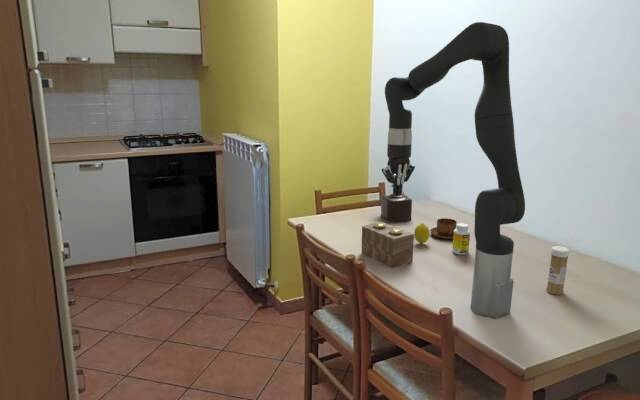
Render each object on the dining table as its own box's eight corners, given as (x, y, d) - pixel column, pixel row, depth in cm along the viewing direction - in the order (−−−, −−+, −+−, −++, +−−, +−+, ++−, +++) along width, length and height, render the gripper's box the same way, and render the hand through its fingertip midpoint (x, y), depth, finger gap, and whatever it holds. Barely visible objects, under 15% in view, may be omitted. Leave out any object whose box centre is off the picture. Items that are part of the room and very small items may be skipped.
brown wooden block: (412, 262, 165) (414, 233, 162) (392, 267, 160) (393, 238, 157) (380, 248, 177) (381, 221, 175) (361, 253, 172) (362, 226, 170)
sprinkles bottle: (542, 290, 143) (548, 246, 140) (554, 287, 145) (559, 244, 142) (555, 296, 139) (561, 252, 136) (567, 293, 141) (573, 249, 138)
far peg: (386, 251, 171) (387, 224, 168) (378, 254, 169) (379, 226, 166) (379, 248, 174) (380, 221, 172) (370, 250, 172) (371, 223, 169)
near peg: (403, 258, 164) (404, 230, 162) (394, 261, 162) (395, 233, 160) (394, 255, 168) (396, 227, 165) (386, 257, 165) (387, 229, 163)
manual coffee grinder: (413, 220, 210) (415, 179, 206) (389, 222, 207) (390, 181, 203) (398, 211, 225) (400, 172, 220) (375, 212, 222) (377, 174, 217)
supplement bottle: (461, 256, 170) (463, 228, 167) (448, 251, 174) (450, 224, 172) (471, 253, 173) (474, 225, 170) (459, 248, 177) (461, 221, 175)
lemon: (411, 245, 181) (412, 224, 179) (416, 240, 185) (417, 220, 183) (426, 247, 178) (427, 226, 176) (430, 242, 183) (432, 222, 181)
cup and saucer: (468, 239, 188) (469, 223, 186) (442, 243, 184) (443, 227, 182) (449, 229, 199) (450, 215, 197) (424, 233, 194) (424, 218, 193)
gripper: (392, 145, 148) (390, 200, 153) (423, 142, 156) (420, 194, 160) (375, 142, 154) (374, 196, 159) (406, 139, 162) (404, 190, 166)
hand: (397, 195), depth 159 cm, fingers closed
